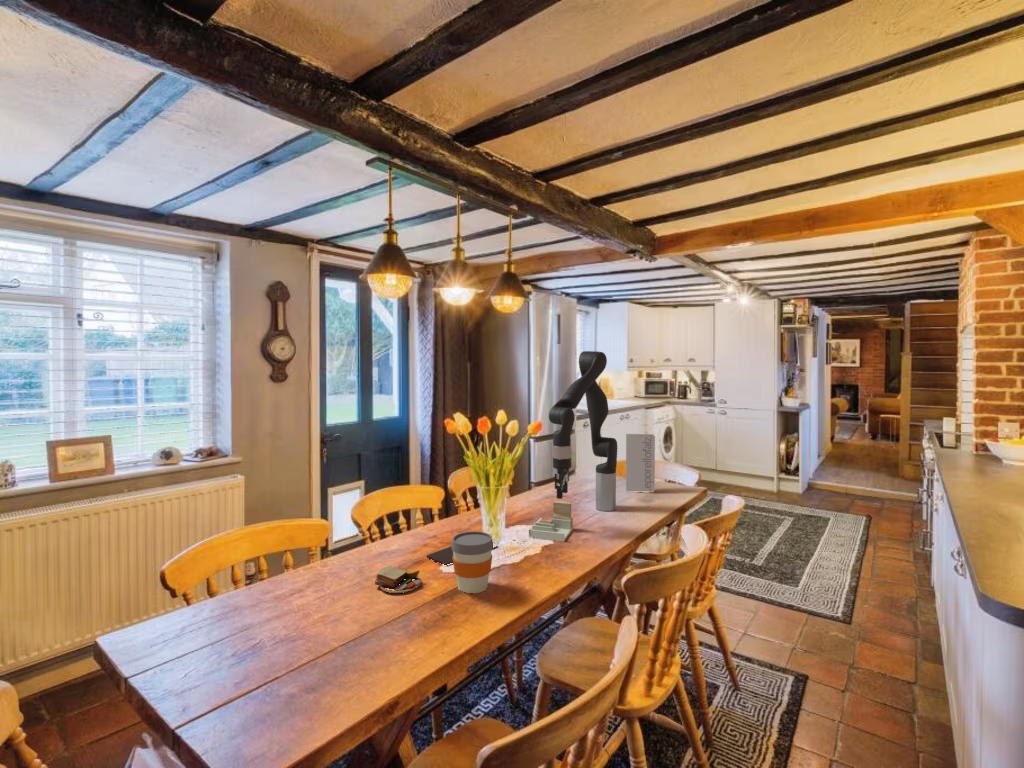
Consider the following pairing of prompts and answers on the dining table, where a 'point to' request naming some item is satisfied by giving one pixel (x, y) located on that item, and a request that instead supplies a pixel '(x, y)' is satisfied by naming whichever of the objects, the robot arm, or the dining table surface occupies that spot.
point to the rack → (552, 529)
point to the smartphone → (442, 556)
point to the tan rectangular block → (561, 510)
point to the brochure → (640, 462)
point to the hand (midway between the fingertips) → (562, 495)
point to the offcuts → (545, 521)
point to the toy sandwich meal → (397, 579)
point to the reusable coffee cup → (472, 560)
